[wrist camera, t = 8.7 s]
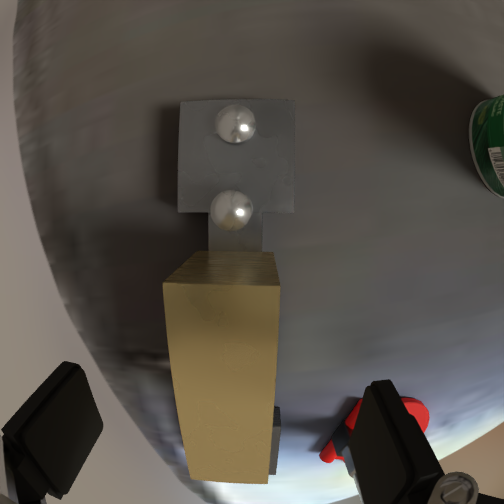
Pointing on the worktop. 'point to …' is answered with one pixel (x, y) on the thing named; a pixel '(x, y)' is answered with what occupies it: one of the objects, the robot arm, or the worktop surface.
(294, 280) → the worktop surface
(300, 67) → the worktop surface
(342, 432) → the tow hook
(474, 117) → the canned tomato
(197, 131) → the grey plate with studs
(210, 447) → the tan cork brick
